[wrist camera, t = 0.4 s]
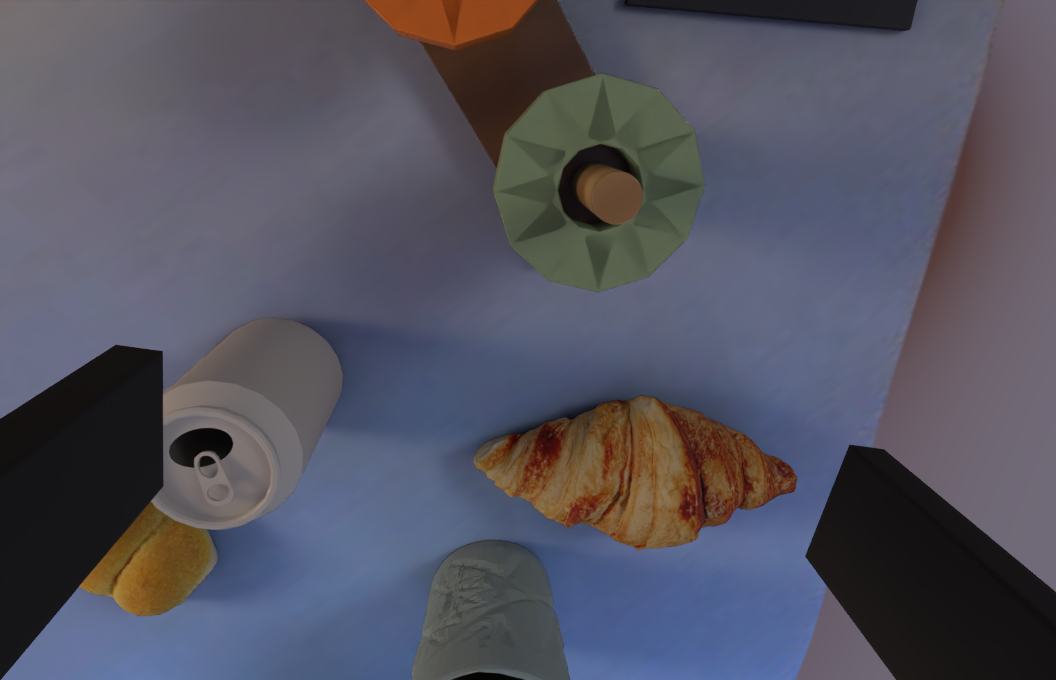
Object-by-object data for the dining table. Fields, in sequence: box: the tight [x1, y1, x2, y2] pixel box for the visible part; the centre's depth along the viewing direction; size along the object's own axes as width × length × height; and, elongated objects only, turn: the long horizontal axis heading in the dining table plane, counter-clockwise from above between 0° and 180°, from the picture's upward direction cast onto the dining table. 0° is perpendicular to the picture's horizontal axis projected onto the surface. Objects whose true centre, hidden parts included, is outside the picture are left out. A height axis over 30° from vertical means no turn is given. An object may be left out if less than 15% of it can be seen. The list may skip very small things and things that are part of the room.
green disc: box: [493, 73, 705, 292], centre depth 28 cm, size 9×9×2 cm
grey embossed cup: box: [411, 540, 570, 680], centre depth 40 cm, size 10×10×12 cm
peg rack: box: [420, 0, 643, 225], centre depth 28 cm, size 20×7×13 cm, turn 31°
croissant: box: [473, 395, 797, 550], centre depth 40 cm, size 21×10×8 cm, turn 85°
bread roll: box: [79, 502, 218, 616], centre depth 40 cm, size 8×9×4 cm
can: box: [151, 318, 343, 530], centre depth 33 cm, size 8×8×12 cm
